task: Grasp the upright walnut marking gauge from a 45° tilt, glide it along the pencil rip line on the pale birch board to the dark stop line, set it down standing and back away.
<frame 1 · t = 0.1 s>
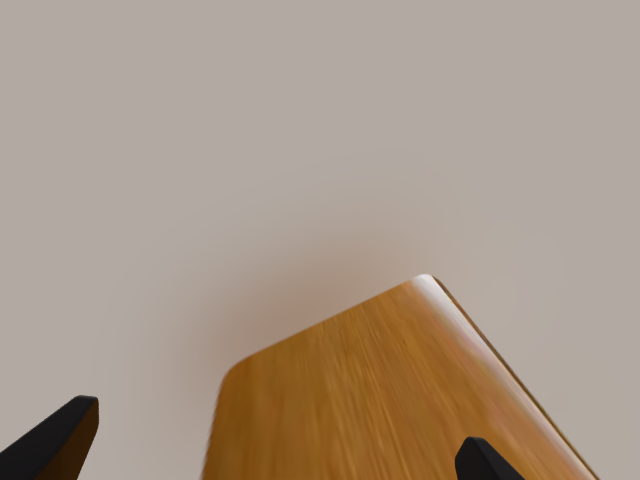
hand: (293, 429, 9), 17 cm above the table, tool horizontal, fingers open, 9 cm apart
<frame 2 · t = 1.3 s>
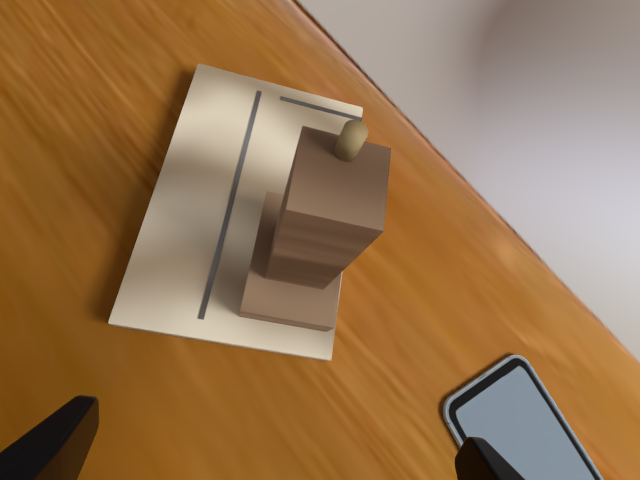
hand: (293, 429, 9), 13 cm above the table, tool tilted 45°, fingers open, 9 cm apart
marking gauge: (293, 266, 22), point 1 cm above the table, touching birch board
birch board: (256, 206, 25), on the table
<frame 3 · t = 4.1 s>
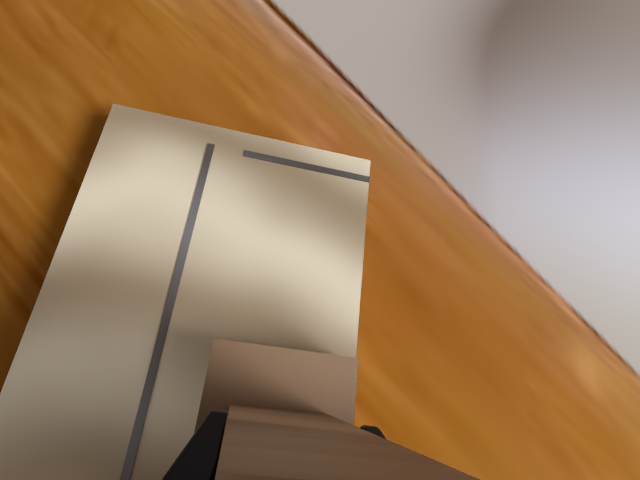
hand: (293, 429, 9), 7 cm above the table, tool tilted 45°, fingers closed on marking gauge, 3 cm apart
marking gauge: (267, 453, 13), point 1 cm above the table, touching birch board, gripper
birch board: (208, 332, 16), on the table
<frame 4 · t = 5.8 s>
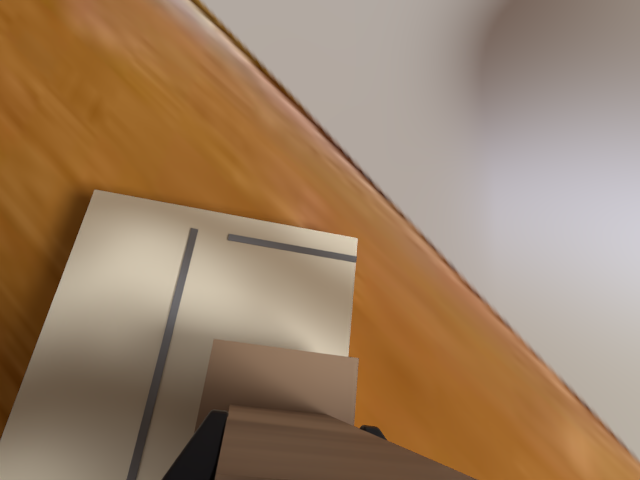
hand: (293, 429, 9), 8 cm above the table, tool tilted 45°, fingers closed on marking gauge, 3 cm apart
marking gauge: (267, 453, 13), point 3 cm above the table, touching gripper
birch board: (190, 427, 15), on the table
when the fingers open (7 cm above the table, at t = 7.6 s): marking gauge stays where it is, resting on birch board.
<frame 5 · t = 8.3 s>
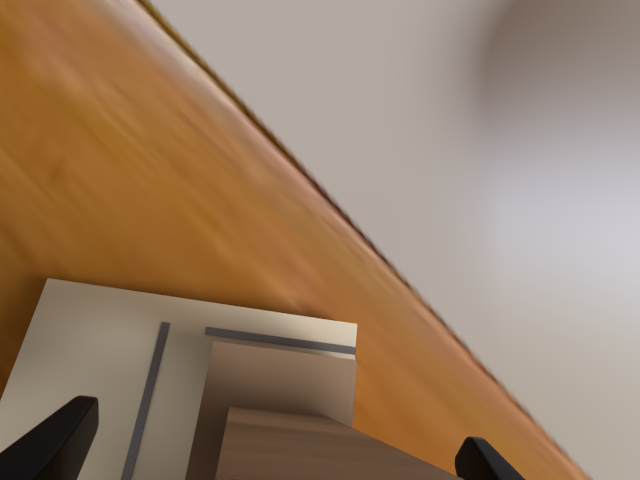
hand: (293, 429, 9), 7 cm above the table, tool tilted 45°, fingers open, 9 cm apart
marking gauge: (266, 454, 13), point 1 cm above the table, touching birch board
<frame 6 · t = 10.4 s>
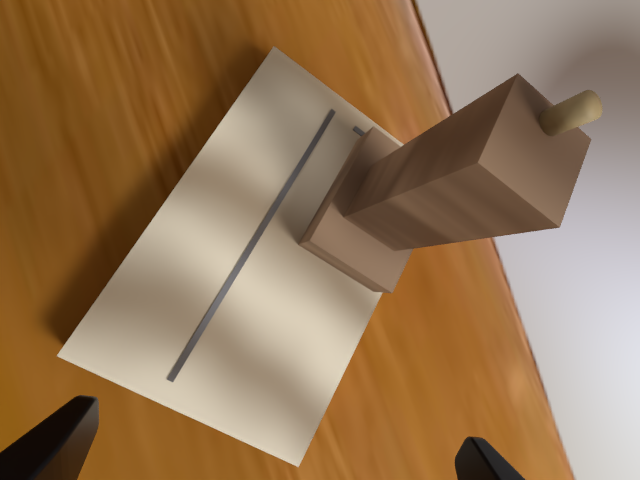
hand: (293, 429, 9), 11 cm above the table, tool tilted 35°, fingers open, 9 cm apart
marking gauge: (365, 214, 21), point 1 cm above the table, touching birch board
birch board: (278, 248, 21), on the table
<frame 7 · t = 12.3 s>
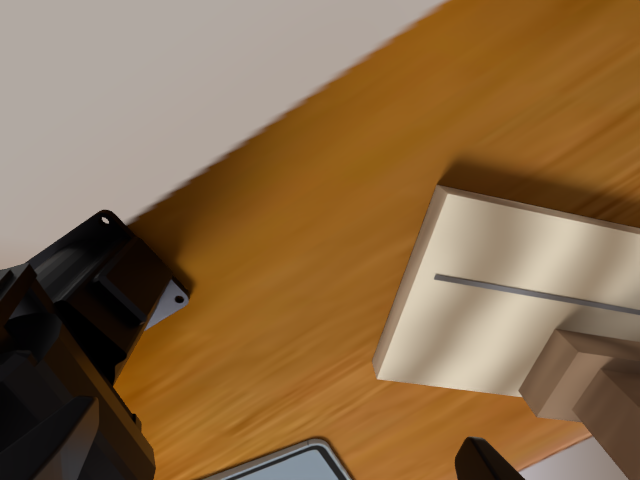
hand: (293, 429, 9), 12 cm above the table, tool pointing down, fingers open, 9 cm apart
marking gauge: (584, 367, 24), point 1 cm above the table, touching birch board
birch board: (537, 305, 23), on the table
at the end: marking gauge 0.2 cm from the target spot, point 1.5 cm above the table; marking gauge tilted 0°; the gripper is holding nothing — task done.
